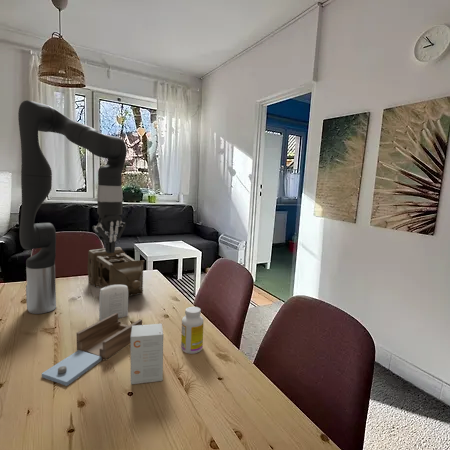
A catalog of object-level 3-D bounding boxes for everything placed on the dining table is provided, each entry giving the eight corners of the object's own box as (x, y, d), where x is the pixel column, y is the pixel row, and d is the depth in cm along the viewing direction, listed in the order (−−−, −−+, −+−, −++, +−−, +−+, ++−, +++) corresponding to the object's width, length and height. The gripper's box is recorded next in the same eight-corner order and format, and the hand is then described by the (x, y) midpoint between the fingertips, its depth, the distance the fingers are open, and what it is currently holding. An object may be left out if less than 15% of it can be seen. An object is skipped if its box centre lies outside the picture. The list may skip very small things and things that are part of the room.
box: (76, 350, 91) (76, 332, 90) (115, 327, 106) (115, 312, 105) (105, 360, 87) (105, 342, 86) (141, 335, 101) (142, 320, 100)
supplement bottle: (205, 345, 97) (207, 307, 95) (197, 356, 91) (198, 315, 89) (186, 341, 99) (188, 303, 97) (177, 351, 93) (178, 311, 91)
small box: (161, 366, 85) (162, 322, 83) (162, 381, 79) (163, 334, 77) (131, 370, 83) (131, 324, 81) (130, 385, 77) (130, 336, 75)
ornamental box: (153, 305, 132) (160, 264, 130) (113, 311, 119) (120, 265, 118) (119, 281, 157) (124, 246, 156) (83, 283, 145) (88, 245, 143)
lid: (41, 379, 78) (41, 369, 78) (78, 355, 90) (78, 346, 89) (66, 388, 76) (66, 378, 75) (101, 362, 87) (101, 353, 86)
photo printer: (126, 312, 118) (126, 281, 116) (129, 316, 115) (129, 284, 113) (98, 317, 112) (97, 285, 111) (100, 322, 109) (100, 289, 107)
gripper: (115, 198, 105) (116, 247, 107) (84, 199, 93) (85, 255, 95) (133, 199, 102) (132, 250, 105) (103, 201, 90) (103, 258, 93)
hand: (110, 252), depth 100 cm, fingers closed
